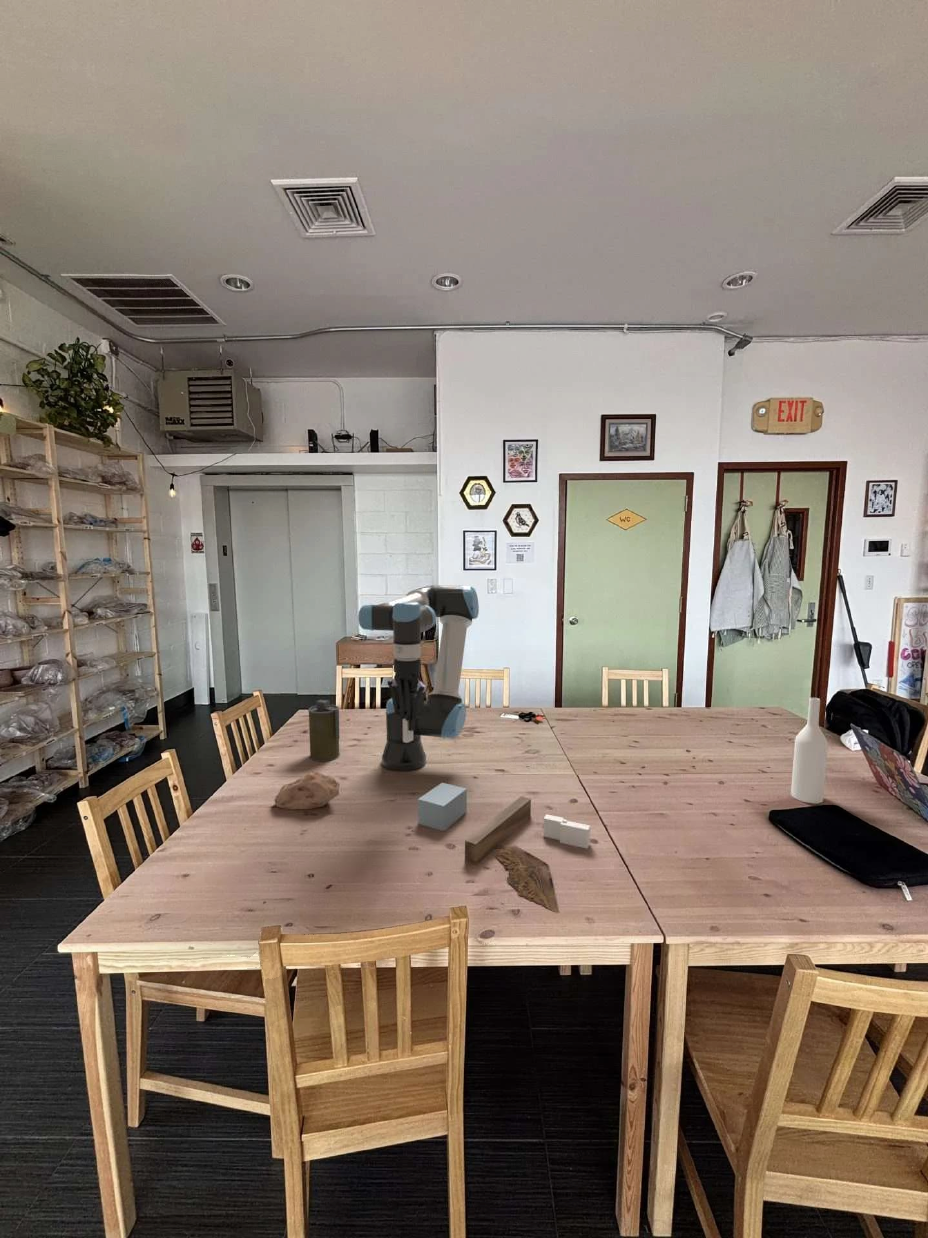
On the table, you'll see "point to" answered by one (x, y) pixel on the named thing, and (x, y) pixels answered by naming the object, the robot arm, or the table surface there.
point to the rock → (308, 792)
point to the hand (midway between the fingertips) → (408, 741)
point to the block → (442, 806)
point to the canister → (324, 731)
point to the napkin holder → (566, 831)
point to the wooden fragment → (529, 876)
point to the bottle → (810, 759)
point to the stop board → (497, 830)
